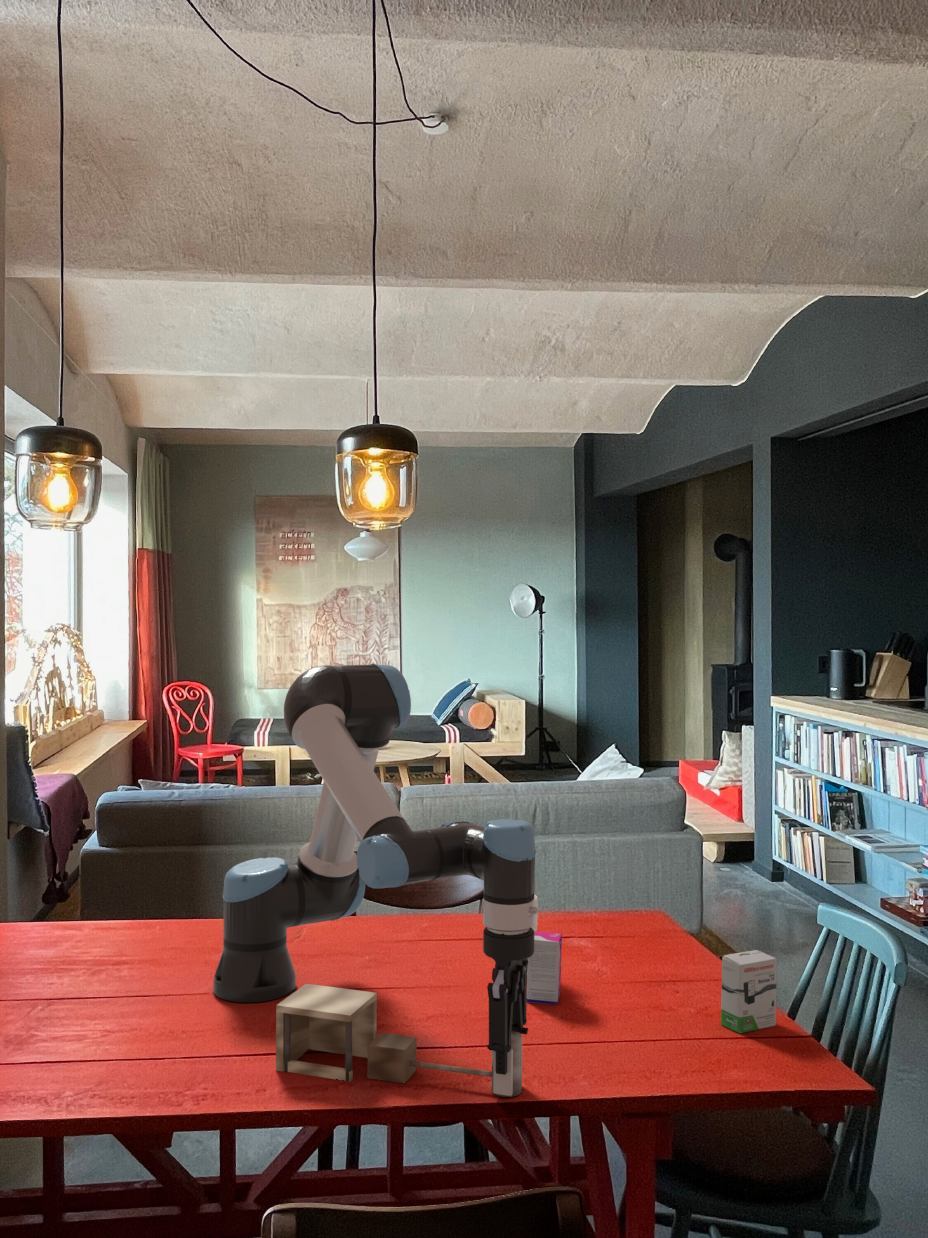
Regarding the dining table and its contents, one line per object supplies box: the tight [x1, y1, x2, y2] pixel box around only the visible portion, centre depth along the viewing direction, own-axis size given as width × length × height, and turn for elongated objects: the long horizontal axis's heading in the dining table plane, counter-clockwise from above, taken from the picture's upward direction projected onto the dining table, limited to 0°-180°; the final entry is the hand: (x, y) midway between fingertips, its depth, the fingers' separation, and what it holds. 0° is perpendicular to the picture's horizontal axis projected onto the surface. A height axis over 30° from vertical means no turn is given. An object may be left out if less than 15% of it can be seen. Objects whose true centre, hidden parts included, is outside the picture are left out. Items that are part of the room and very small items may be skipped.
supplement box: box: [527, 931, 563, 1006], centre depth 190 cm, size 6×6×12 cm
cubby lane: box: [275, 983, 378, 1083], centre depth 162 cm, size 12×10×10 cm
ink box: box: [720, 949, 778, 1034], centre depth 178 cm, size 9×5×12 cm, turn 117°
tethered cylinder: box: [367, 1030, 523, 1098], centre depth 155 cm, size 23×5×8 cm, turn 73°
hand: (507, 1086), depth 152 cm, fingers closed on tethered cylinder, 4 cm apart
